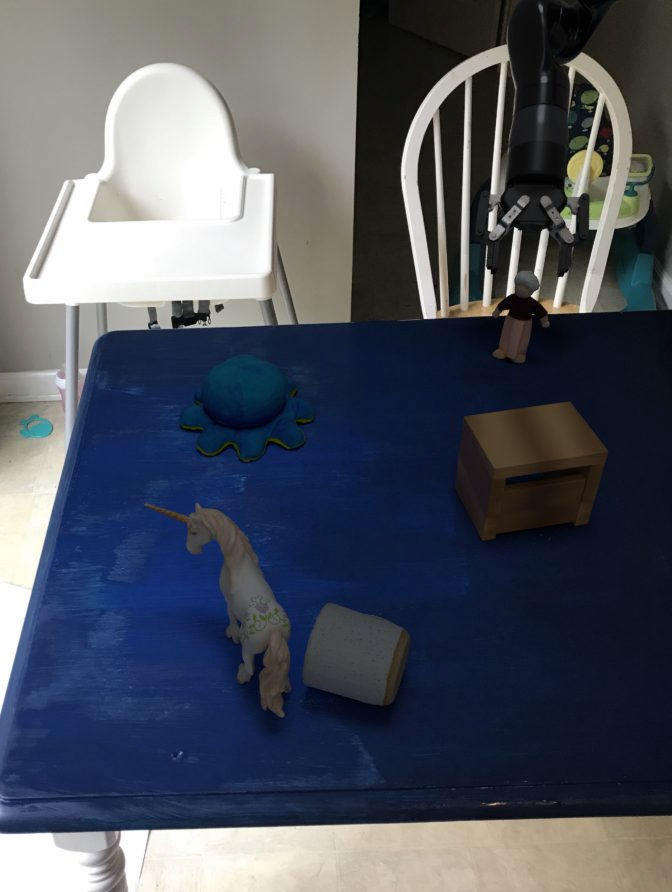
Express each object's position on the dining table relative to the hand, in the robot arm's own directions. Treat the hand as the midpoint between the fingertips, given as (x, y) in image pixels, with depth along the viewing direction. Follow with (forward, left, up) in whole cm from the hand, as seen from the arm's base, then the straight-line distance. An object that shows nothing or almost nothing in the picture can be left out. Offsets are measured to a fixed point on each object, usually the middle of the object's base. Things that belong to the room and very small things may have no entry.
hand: (527, 274), depth 108 cm
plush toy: (+39, +7, -12) cm, 41 cm away
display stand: (+12, +30, -12) cm, 34 cm away
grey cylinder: (+35, +48, -12) cm, 60 cm away
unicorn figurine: (+47, +44, -12) cm, 65 cm away
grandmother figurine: (+1, +1, -12) cm, 12 cm away
